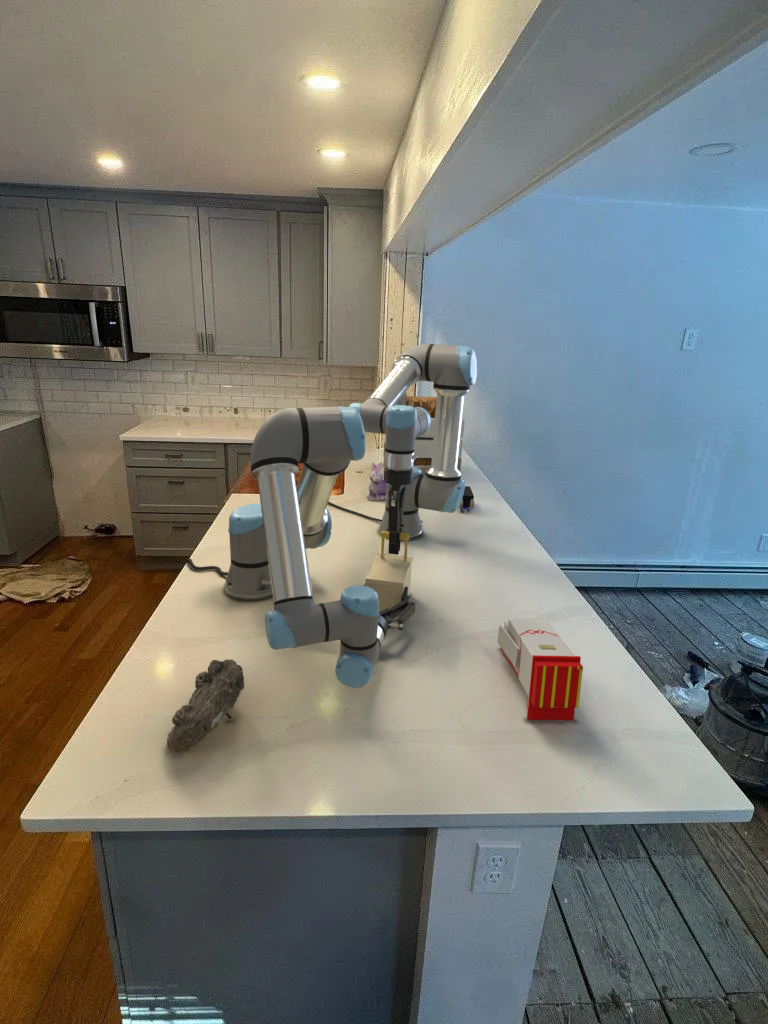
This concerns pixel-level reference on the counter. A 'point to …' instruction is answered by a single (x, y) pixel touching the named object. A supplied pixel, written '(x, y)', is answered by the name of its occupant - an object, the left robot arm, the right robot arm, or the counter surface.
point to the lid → (390, 565)
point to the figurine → (377, 484)
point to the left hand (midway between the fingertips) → (386, 588)
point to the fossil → (206, 705)
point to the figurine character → (467, 499)
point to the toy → (542, 668)
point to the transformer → (426, 440)
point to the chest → (390, 593)
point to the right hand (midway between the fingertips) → (394, 551)
